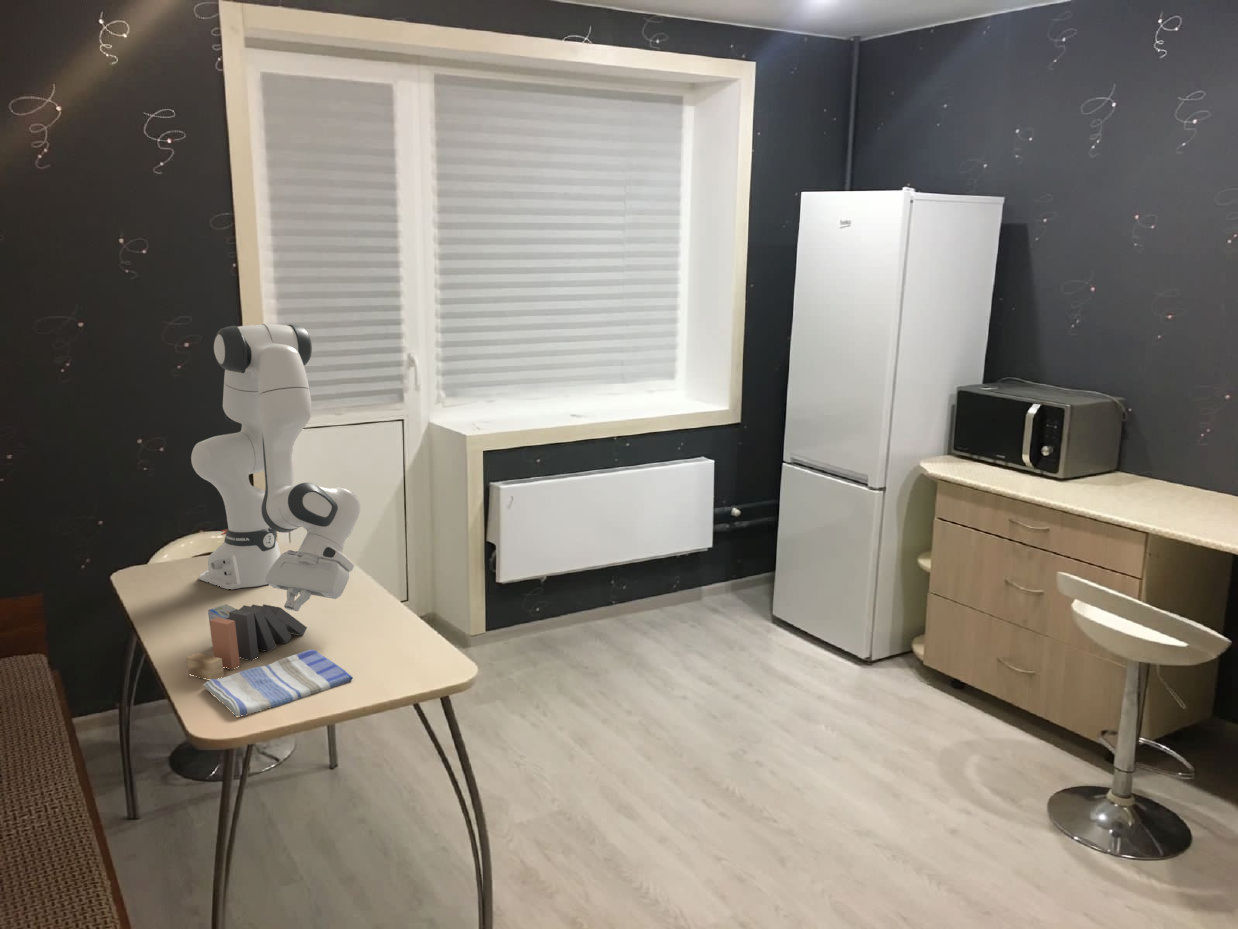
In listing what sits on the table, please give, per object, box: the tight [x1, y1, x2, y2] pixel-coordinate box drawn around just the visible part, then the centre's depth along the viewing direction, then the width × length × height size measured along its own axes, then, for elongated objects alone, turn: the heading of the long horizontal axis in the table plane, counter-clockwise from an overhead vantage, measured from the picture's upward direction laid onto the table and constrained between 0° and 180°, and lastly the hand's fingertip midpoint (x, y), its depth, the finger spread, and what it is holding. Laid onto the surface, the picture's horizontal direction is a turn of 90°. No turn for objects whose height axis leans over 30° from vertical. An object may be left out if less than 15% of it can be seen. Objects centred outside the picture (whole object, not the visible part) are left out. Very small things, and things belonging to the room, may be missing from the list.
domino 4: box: [250, 604, 292, 644], centre depth 208 cm, size 5×2×10 cm
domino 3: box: [238, 605, 277, 653], centre depth 205 cm, size 5×2×10 cm, turn 64°
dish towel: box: [202, 649, 354, 717], centre depth 189 cm, size 17×24×3 cm
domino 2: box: [229, 608, 260, 662], centre depth 202 cm, size 5×2×10 cm, turn 64°
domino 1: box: [209, 617, 241, 670], centre depth 197 cm, size 5×2×10 cm, turn 64°
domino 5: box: [262, 604, 308, 637], centre depth 211 cm, size 5×2×10 cm
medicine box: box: [207, 604, 237, 640], centre depth 207 cm, size 8×4×9 cm, turn 47°
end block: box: [186, 652, 225, 679], centre depth 193 cm, size 7×2×4 cm, turn 64°
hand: (290, 609), depth 213 cm, fingers closed
